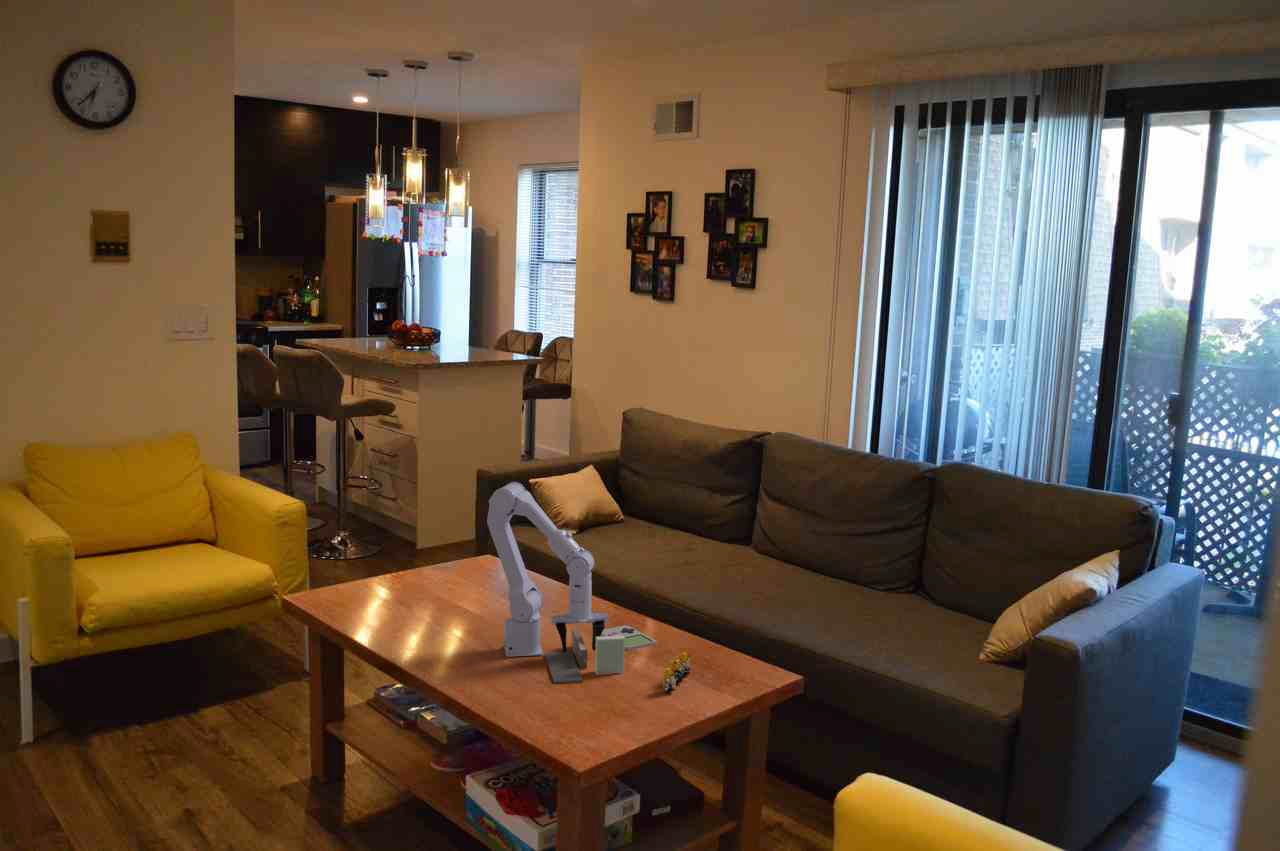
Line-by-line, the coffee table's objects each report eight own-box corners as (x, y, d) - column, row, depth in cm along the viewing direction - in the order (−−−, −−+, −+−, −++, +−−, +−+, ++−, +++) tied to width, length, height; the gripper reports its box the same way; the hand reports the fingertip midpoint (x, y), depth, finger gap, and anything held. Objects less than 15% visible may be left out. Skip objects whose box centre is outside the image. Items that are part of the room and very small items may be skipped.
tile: (596, 674, 257) (597, 639, 256) (594, 671, 259) (595, 636, 258) (623, 673, 258) (625, 638, 257) (622, 670, 260) (623, 635, 259)
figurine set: (657, 695, 246) (658, 668, 245) (680, 671, 261) (681, 646, 260) (671, 697, 245) (672, 670, 244) (693, 673, 260) (694, 648, 259)
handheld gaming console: (627, 623, 292) (657, 640, 279) (627, 629, 292) (657, 645, 280) (596, 629, 286) (626, 646, 274) (596, 635, 286) (626, 652, 274)
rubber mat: (553, 683, 250) (553, 681, 250) (544, 655, 269) (544, 652, 269) (582, 682, 252) (582, 679, 252) (571, 653, 270) (571, 651, 270)
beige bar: (580, 669, 260) (580, 649, 259) (571, 646, 276) (571, 628, 275) (586, 668, 261) (587, 649, 260) (577, 646, 276) (577, 628, 275)
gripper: (553, 605, 261) (553, 657, 262) (610, 602, 263) (609, 654, 265) (550, 596, 267) (549, 647, 269) (606, 594, 270) (604, 644, 272)
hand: (579, 650), depth 268 cm, fingers open, 7 cm apart
